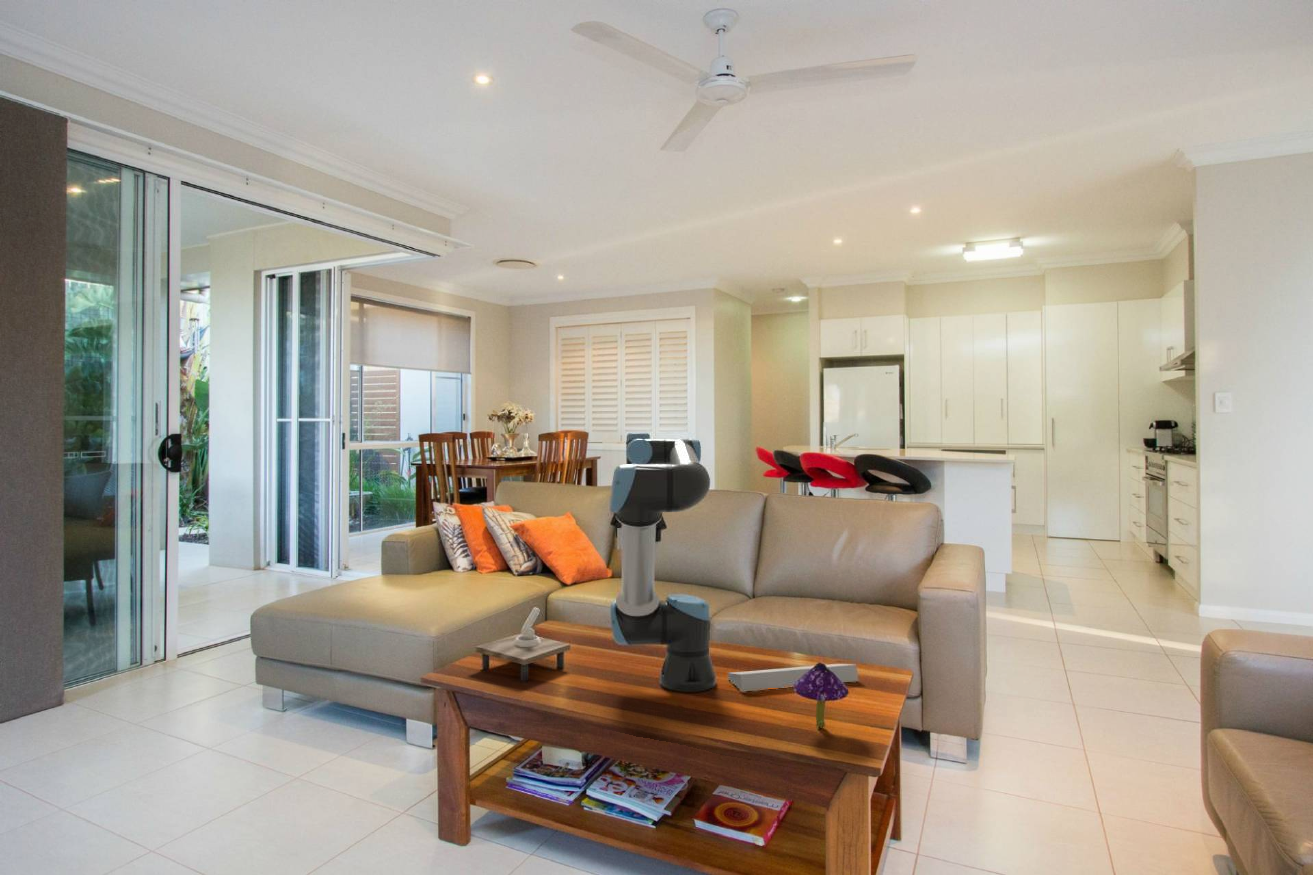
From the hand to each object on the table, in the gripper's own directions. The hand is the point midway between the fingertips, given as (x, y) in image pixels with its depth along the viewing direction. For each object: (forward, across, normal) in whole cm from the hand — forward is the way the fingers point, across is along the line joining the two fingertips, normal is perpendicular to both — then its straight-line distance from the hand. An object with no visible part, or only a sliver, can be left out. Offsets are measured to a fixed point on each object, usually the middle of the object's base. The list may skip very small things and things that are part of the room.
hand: (637, 550), depth 217 cm
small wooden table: (+32, +17, +32) cm, 48 cm away
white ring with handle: (+25, +18, +30) cm, 43 cm away
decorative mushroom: (+32, -69, +21) cm, 79 cm away
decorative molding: (+32, -50, -5) cm, 60 cm away
